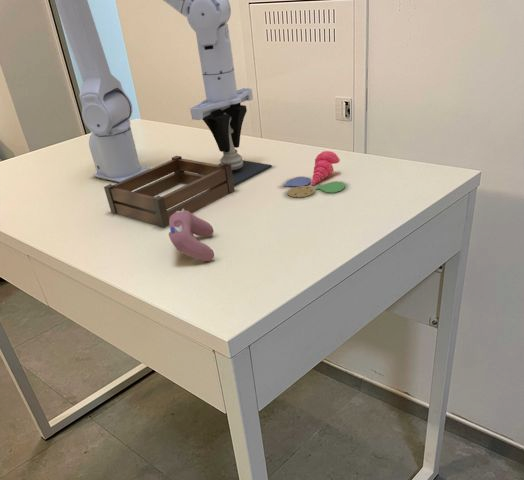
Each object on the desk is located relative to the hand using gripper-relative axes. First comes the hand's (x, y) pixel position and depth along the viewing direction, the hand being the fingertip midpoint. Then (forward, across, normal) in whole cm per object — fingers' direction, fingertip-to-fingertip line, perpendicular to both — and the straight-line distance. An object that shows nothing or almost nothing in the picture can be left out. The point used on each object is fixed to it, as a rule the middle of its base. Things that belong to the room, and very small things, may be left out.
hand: (229, 149), depth 105 cm
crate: (+4, -16, 0) cm, 17 cm away
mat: (+5, 0, 0) cm, 5 cm away
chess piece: (+4, 0, 0) cm, 4 cm away
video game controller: (+5, -28, -18) cm, 34 cm away
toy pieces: (+5, +1, -19) cm, 20 cm away
